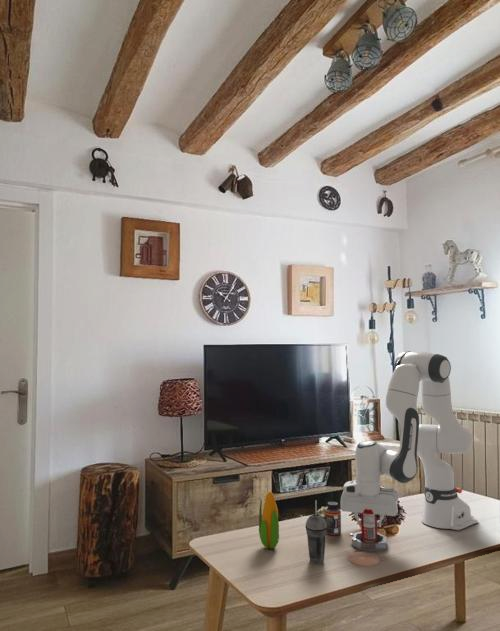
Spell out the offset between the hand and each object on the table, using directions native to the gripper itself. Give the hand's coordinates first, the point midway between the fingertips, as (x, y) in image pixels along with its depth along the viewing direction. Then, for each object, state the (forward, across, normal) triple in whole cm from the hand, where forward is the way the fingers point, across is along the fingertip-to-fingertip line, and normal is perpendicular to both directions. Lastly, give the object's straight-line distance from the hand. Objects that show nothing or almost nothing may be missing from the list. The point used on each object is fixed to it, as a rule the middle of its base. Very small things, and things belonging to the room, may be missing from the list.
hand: (369, 525), depth 184 cm
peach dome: (+6, 0, +14) cm, 15 cm away
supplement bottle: (+7, +14, -6) cm, 17 cm away
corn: (+6, +33, +15) cm, 37 cm away
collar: (+7, 0, +1) cm, 7 cm away
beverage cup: (+6, +15, +21) cm, 27 cm away
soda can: (+5, 0, 0) cm, 5 cm away
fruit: (+7, +19, -12) cm, 24 cm away
